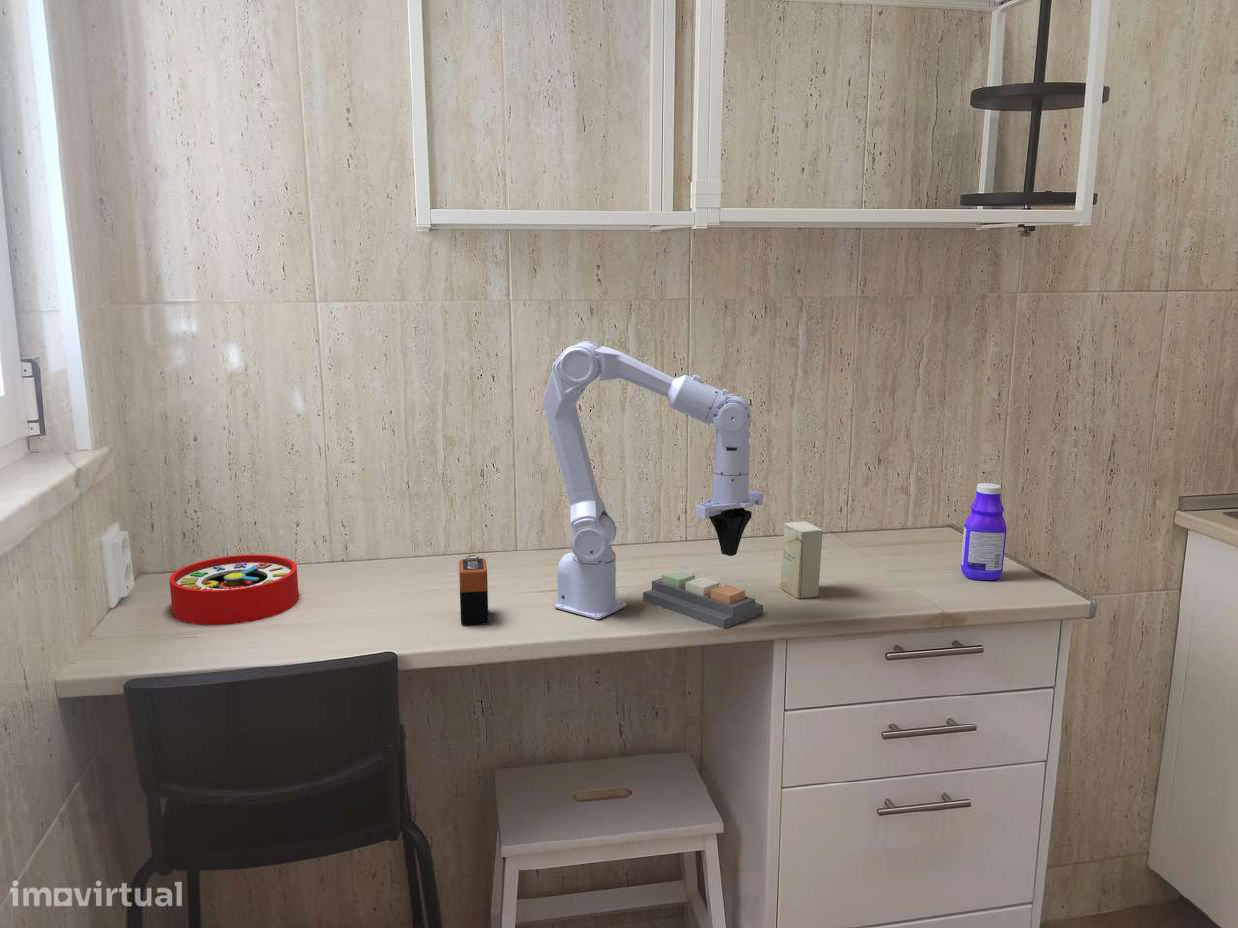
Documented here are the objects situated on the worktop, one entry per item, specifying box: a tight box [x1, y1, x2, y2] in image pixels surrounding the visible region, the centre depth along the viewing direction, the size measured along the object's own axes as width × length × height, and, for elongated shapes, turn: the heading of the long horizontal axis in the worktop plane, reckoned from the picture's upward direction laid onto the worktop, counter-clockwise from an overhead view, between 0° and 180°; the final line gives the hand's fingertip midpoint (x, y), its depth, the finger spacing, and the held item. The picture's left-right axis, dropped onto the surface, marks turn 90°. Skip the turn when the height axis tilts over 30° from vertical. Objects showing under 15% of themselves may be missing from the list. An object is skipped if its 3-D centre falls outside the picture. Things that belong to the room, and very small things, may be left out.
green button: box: [661, 569, 696, 588], centre depth 169 cm, size 4×4×2 cm
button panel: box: [642, 577, 764, 629], centre depth 165 cm, size 18×10×3 cm, turn 44°
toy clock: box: [168, 554, 300, 626], centre depth 166 cm, size 20×6×20 cm
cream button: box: [685, 576, 720, 596], centre depth 165 cm, size 4×4×2 cm
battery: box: [458, 554, 489, 626], centre depth 159 cm, size 4×7×10 cm, turn 10°
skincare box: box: [780, 520, 824, 600], centre depth 172 cm, size 6×4×12 cm
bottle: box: [960, 482, 1008, 581], centre depth 180 cm, size 7×6×17 cm
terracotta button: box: [710, 584, 746, 605], centre depth 161 cm, size 4×4×2 cm
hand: (728, 554), depth 160 cm, fingers closed
